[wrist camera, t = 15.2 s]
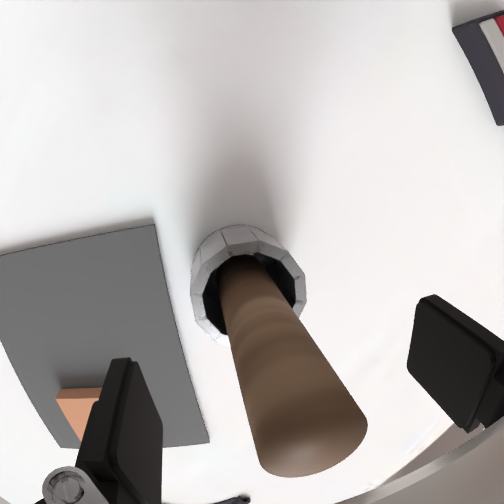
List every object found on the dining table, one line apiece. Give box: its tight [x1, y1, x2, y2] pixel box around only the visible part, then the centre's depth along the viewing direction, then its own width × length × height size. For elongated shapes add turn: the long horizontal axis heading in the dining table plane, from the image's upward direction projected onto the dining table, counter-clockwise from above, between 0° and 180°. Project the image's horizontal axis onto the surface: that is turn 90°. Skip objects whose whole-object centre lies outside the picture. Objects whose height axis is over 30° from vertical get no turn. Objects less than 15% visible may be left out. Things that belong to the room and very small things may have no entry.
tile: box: [56, 387, 102, 441], centre depth 22 cm, size 2×7×8 cm
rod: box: [216, 254, 368, 478], centre depth 14 cm, size 3×3×14 cm
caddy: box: [190, 225, 307, 346], centre depth 19 cm, size 6×6×5 cm
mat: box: [0, 224, 210, 449], centre depth 21 cm, size 20×16×1 cm
